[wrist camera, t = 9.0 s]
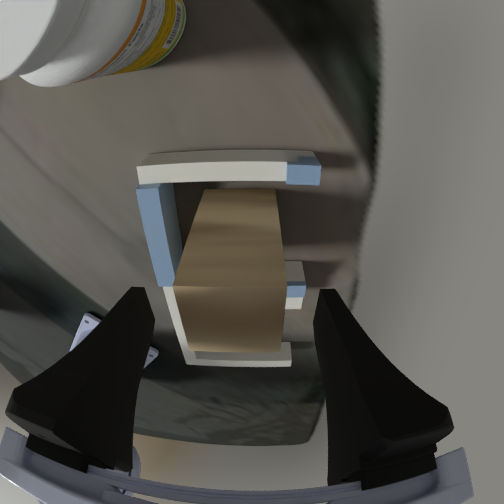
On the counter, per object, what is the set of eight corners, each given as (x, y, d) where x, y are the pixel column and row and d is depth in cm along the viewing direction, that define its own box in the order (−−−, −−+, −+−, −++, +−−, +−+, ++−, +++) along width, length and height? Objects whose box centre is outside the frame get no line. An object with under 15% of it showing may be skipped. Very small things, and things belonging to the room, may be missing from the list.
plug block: (272, 246, 19) (280, 352, 12) (210, 245, 19) (189, 350, 12) (275, 188, 16) (287, 287, 10) (204, 189, 16) (172, 285, 10)
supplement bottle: (80, 22, 10) (-59, 30, 2) (161, -34, 8) (58, -105, 1) (119, 90, 13) (-13, 145, 5) (206, 37, 11) (126, 0, 3)
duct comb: (289, 348, 25) (291, 372, 23) (189, 346, 25) (185, 369, 23) (312, 150, 15) (322, 167, 13) (149, 154, 15) (132, 170, 13)
